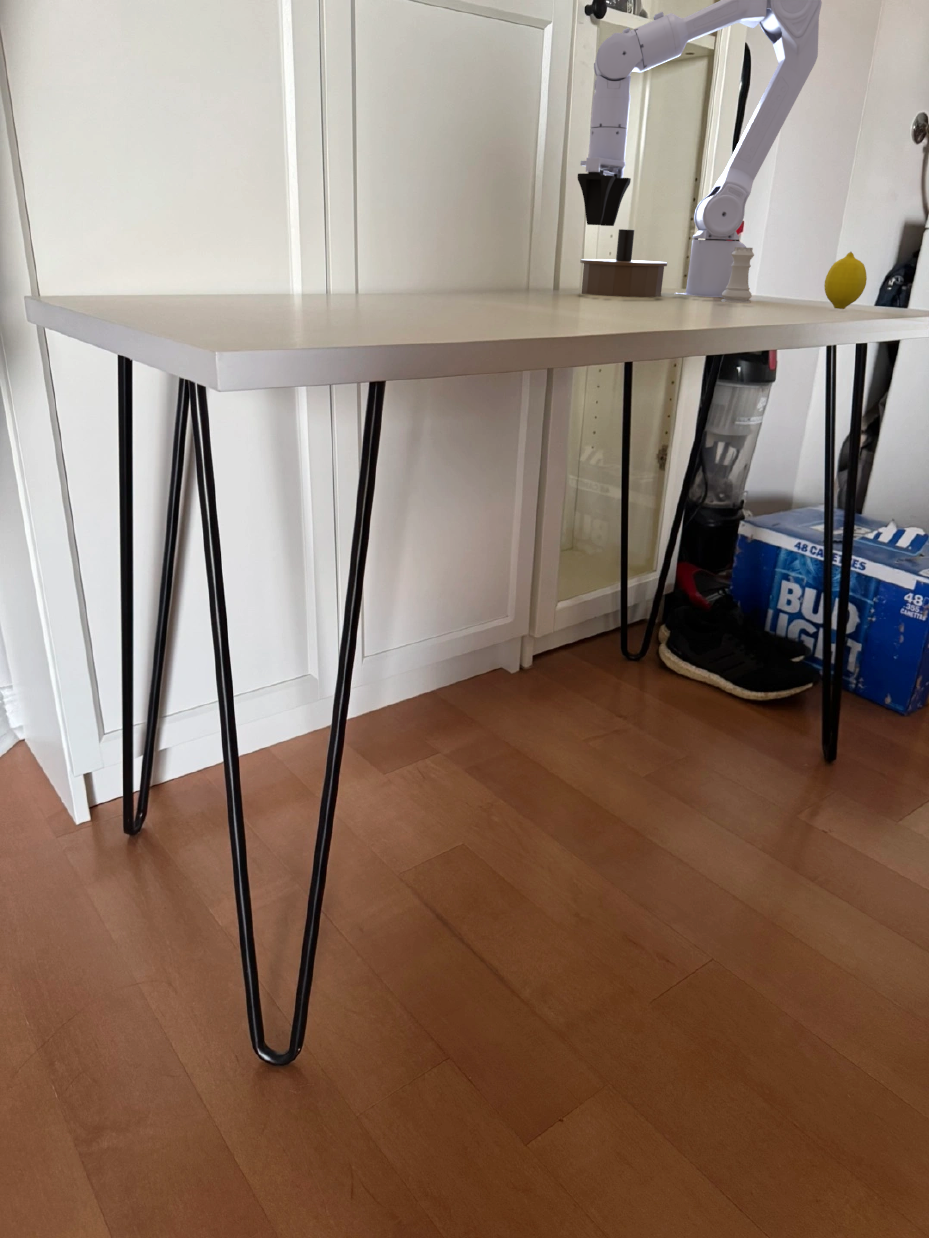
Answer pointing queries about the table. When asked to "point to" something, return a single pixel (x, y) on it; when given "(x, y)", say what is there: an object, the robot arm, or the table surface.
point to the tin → (622, 280)
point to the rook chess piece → (739, 277)
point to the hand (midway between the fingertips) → (600, 225)
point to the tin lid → (624, 253)
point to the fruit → (845, 281)
